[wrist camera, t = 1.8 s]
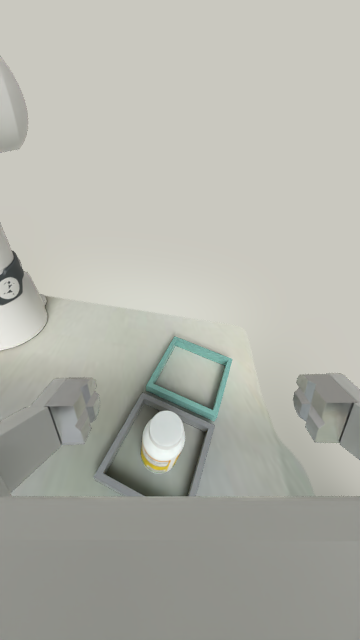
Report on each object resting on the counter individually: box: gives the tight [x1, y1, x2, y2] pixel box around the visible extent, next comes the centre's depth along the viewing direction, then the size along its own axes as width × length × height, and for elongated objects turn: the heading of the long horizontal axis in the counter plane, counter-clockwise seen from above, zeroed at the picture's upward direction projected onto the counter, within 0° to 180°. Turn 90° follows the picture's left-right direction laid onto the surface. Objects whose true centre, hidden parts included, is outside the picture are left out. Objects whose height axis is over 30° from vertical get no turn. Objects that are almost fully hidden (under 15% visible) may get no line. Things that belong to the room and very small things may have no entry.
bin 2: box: [94, 392, 215, 496], centre depth 31 cm, size 13×13×2 cm
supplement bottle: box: [141, 411, 185, 474], centre depth 29 cm, size 5×5×10 cm
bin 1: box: [146, 336, 232, 421], centre depth 41 cm, size 13×13×2 cm
